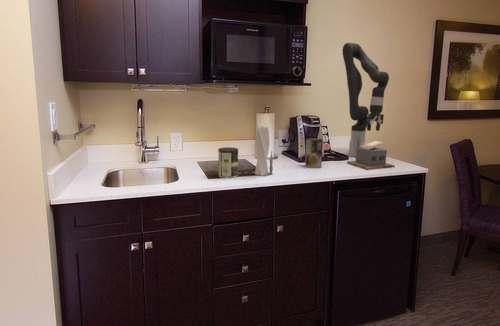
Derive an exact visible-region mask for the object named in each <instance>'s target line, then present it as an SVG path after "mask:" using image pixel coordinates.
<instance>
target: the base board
mask: <svg viewBox="0 0 500 326" xmlns="http://www.w3.org/2000/svg"><path fill="white" fill-rule="evenodd" d="M346 163H347V165H351V166H353V167H356V168H359V169H362V170H366V171H371V170H381V169H392V167H393V168H395V167H396V166H395V165H394V164H391V163H387V162H386V165H378V166H367V165H363V164H360V163H357V162H356V160H350V161H347V162H346Z"/></svg>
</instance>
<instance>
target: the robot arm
mask: <svg viewBox="0 0 500 326" xmlns="http://www.w3.org/2000/svg"><path fill="white" fill-rule="evenodd" d="M342 57H343V61H344V66H345V74H346V82H347V89H348V101H349V115H350V116H349V117H350V118H351V120H353V121H356V123H355V124H354V125H352V126H351V129H350V131H351V132H350V141H349V147H348V156H350V157H353V158H356V153H357V148H361V145H364V144H366V133H367V131H372V124H373V123H374V122H375V123H376V125H375V131H377V132H378V131H380V130H381V125H383V124H384V116H385V115H384V114H383V113H382V112H383V107H384V97H385V90H386V89H387V86H388V84H389V80H390V76H389V73H388V72H386V71H380V70H379V67H378V65H377V64H376V63H375V62H373V60H371V58H369V56H368V55H367V54H366V52H365V51H364V49H363V48H362V46H361V45H360V44H359V43H354V42H346V43H344V45H343V46H342ZM354 59H356V60H358V61H359V62H360V66H361V68H362V69H363V71H364V72H365V73H366V74H367V75H368V77H369V79H370V80H371V82H373V83H375V84H377V86H376V87H373V88H372V92H371V97H370V104H369V109H368V107H367V106H364V105H359V97H360V93H361V91H362V88H363V80H362V74H361V72H360V71H359V69H358V67H357V66H356V64H355V60H354ZM369 112H370V113H369Z"/></svg>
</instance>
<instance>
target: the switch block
mask: <svg viewBox="0 0 500 326" xmlns="http://www.w3.org/2000/svg"><path fill="white" fill-rule="evenodd" d="M387 152H388V150H387V149H385V148H380V147H375V148H372V149H369V150H367V149H363V148H357V153H356V157H355V161H356V162H357V163H360V164H363V165H367V166H378V165H386V163H387Z"/></svg>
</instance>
